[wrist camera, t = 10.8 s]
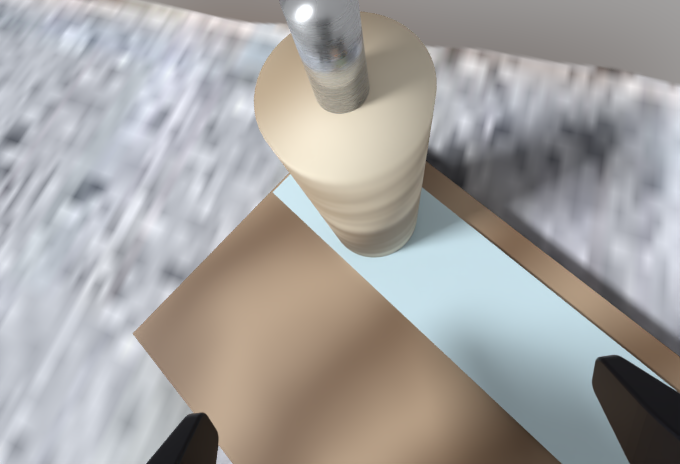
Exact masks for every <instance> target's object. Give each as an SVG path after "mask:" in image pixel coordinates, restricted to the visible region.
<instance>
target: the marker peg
mask: <svg viewBox="0 0 680 464" xmlns="http://www.w3.org/2000/svg"><path fill="white" fill-rule="evenodd" d="M279 1H280V5H281V8H282V10H283V13H284V16H285V18H286V21H287V24H288V26H289V29H290V31H291V33H290V34H289V35H288V36H287V37H286V38H285V39H283V40H282V41H281V42H280V43H279V44H278V45H277V47H276V48H275V49H274V50H273V51H272V53H271V54H270V55H269V57H268V58H267V60H266V62H265V63H264V65H263V67H262V69H261V72H260V74H259V77H258V80H257V83H256V87H255V95H254V110H255V116H256V120H257V123H258V126H259V129H260V131H261V133H262V135H263V137H264V139H265V140H266V142H267V143H268V144H269V146H270V147H271V149H272V150H273V151H274V153H275V154H276V155H277V157H278V158H279V159H280V161H281V162H282V163H283V165H284V166H285V167H286V169H287V170H288V171H289V173H290V174H291V175H292V177H293V178H294V180H295V181H296V182H297V184H298V185H299V186H300V188H301V189H302V190H303V192H304V193H305V194H306V196H307V197H308V198H309V200H310V201H311V202H312V204H313V205H314V206H315V208H316V209H317V210H318V212H319V213H320V215H321V216H322V217H323V219H324V220H325V221H326V223H327V224H328V225H329V227H330V228H331V229H332V231H333V232H334V233H335V235H336V236H337V237H338V239H339V240H340V241H341V243H342V244H343V245H344V246H345V247H346V248H347V249H349V250H350V251H352V252H354V253H356V254H358V255H361V256H364V257H375V258H376V257H383V256H387V255H390V254H392V253H394V252H396V251H398V250H399V249H400V248H402V247H403V246H404V245H405V244H406V243H407V242H408V241H409V239H410V238H411V236H412V234H413V232H414V230H415V227H416V222H417V216H418V209H419V202H420V196H421V189H422V183H423V176H424V170H425V163H426V156H427V150H428V143H429V137H430V130H431V124H432V117H433V110H434V104H435V97H436V90H437V86H436V73H435V67H434V64H433V61H432V58H431V56H430V54H429V52H428V50H427V48H426V47H425V46H424V44H423V43H422V42H421V40H420V39H419V38H418V37H417V36H416V35H415V34H414V33H413V32H412V31H411V30H409V29H408V28H407V27H405V26H404V25H402V24H401V23H399V22H397V21H395V20H393V19H390V18H388V17H385V16H382V15H378V14H375V13H368V12H360V10H359V3H358V0H279Z"/></svg>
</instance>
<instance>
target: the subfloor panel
mask: <svg viewBox="0 0 680 464" xmlns="http://www.w3.org/2000/svg"><path fill="white" fill-rule="evenodd" d="M133 335H134V336H135V337H136V339H137V340H138V341H139V343H140V344H141V345H142V346H143V348H144V349H145V350H146V352H147V353H148V354H149V355H150V357H151V358H152V359H153V361H154V362H155V363H156V365H157V366H158V367H159V368H160V370H161V371H162V372H163V374H164V375H165V376H166V377H167V379H168V380H169V381H170V383H171V384H172V385H173V387H174V388H175V389H176V390H177V392H178V393H179V394H180V396H181V397H182V398H183V400H184V401H185V402H186V403H187V405H188V406H189V407H190V409H191V410H192V411H193V412H194V413H200V412H204V413H206V414H207V415H208V417H209V419H210V420H211V422H212V423H213V425H214V426H215V428H216V429H217V432H218V436H219V443H218V445H219V446H220V447H221V449H222V450H223V451H224V453H225V454H226V455H227V457H228V458H229V459H230V460H231V462H232V463H233V464H630V463H629V461H628V460H627V458H626V456H625V454H624V452H623V450H622V448H621V446H620V444H619V442H618V440H617V438H616V435H615V433H614V431H613V429H612V427H611V425H610V423H609V421H608V419H607V417H606V415H605V413H604V411H603V409H602V407H601V405H600V403H599V401H598V399H597V397H596V395H595V393H594V390H593V387H592V376H593V371H594V365H595V360H596V359H597V358H598V357H601V356H608V355H619V356H621V357H623V358H625V359H626V360H628V361H630V362H631V363H633V364H634V365H636V366H637V367H639V368H641V369H642V370H644V371H645V372H647V373H649V374H650V375H652V376H653V377H655V378H657V379H658V380H660V381H661V382H663V383H665V384H666V385H668V386H669V387H671V388H672V389H674V390H676V391H677V392H679V393H680V357H679V356H678V355H677V354H675V353H674V352H673V351H672V350H670V349H669V348H668V347H666V346H665V345H664V344H662V343H661V342H660V341H659V340H657V339H656V338H655V337H653V336H652V335H651V334H649V333H648V332H647V331H646V330H644V329H643V328H642V327H640V326H639V325H638V324H637V323H635V322H634V321H633V320H631V319H630V318H629V317H627V316H626V315H625V314H624V313H622V312H621V311H620V310H618V309H617V308H616V307H614V306H613V305H612V304H611V303H609V302H608V301H607V300H605V299H604V298H603V297H602V296H600V295H599V294H598V293H596V292H595V291H594V290H592V289H591V288H590V287H589V286H587V285H586V284H585V283H583V282H582V281H581V280H580V279H578V278H577V277H576V276H574V275H573V274H572V273H570V272H569V271H568V270H567V269H565V268H564V267H563V266H561V265H560V264H559V263H557V262H556V261H555V260H554V259H552V258H551V257H550V256H548V255H547V254H546V253H545V252H543V251H542V250H541V249H539V248H538V247H537V246H535V245H534V244H533V243H532V242H530V241H529V240H528V239H526V238H525V237H524V236H522V235H521V234H520V233H519V232H517V231H516V230H515V229H513V228H512V227H511V226H510V225H508V224H507V223H506V222H504V221H503V220H502V219H500V218H499V217H498V216H497V215H495V214H494V213H493V212H491V211H490V210H489V209H487V208H486V207H485V206H484V205H482V204H481V203H480V202H478V201H477V200H476V199H475V198H473V197H472V196H471V195H469V194H468V193H467V192H465V191H464V190H463V189H462V188H460V187H459V186H458V185H456V184H455V183H454V182H452V181H451V180H450V179H449V178H447V177H446V176H445V175H443V174H442V173H441V172H440V171H438V170H437V169H436V168H434V167H433V166H432V165H430V164H429V163H428V162H427V161H426V163H425V170H424V176H423V183H422V189H421V196H420V202H419V209H418V216H417V222H416V227H415V230H414V232H413V234H412V236H411V238H410V239H409V241H408V242H407V243H406V244H405V245H404V246H403V247H402V248H400V249H399V250H398V251H396V252H394V253H392V254H390V255H387V256H383V257H376V258H375V257H364V256H361V255H358V254H356V253H354V252H352V251H350V250H349V249H347V248H346V247H345V246H344V245H343V244H342V243H341V241H340V240H339V239H338V237H337V236H336V235H335V233H334V232H333V231H332V229H331V228H330V227H329V225H328V224H327V223H326V221H325V220H324V219H323V217H322V216H321V215H320V213H319V212H318V210H317V209H316V208H315V206H314V205H313V204H312V202H311V201H310V200H309V198H308V197H307V196H306V194H305V193H304V192H303V190H302V189H301V188H300V186H299V185H298V184H297V182H296V181H295V180H294V178H293V177H292V175H291V174H290V173H289V174H288V175H287V176H286V177H285V178H284V179H283V180H282V181H281V182H280V183H279V184H278V185H277V186H276V187H275V188H274V189H273V190H272V191H271V192H270V193H269V194H268V195H267V196H266V197H265V198H264V199H263V200H262V201H261V202H260V203H259V204H258V205H257V206H256V207H255V208H254V210H253V211H252V212H251V213H250V214H249V215H248V216H247V217H246V218H245V219H244V220H243V221H242V222H241V223H240V224H239V225H238V226H237V227H236V228H235V229H234V230H233V231H232V232H231V233H230V234H229V235H228V236H227V237H226V238H225V239H224V240H223V241H222V242H221V243H220V244H219V245H218V247H217V248H216V249H215V250H214V251H213V252H212V253H211V254H210V255H209V256H208V257H207V258H206V259H205V260H204V261H203V262H202V263H201V264H200V265H199V266H198V267H197V268H196V269H195V270H194V271H193V272H192V273H191V274H190V275H189V276H188V277H187V278H186V279H185V280H184V281H183V282H182V283H181V285H180V286H179V287H178V288H177V289H176V290H175V291H174V292H173V293H172V294H171V295H170V296H169V297H168V298H167V299H166V300H165V301H164V302H163V303H162V304H161V305H160V306H159V307H158V308H157V309H156V310H155V311H154V312H153V313H152V314H151V315H150V316H149V317H148V318H147V319H146V320H145V322H144V323H143V324H142V325H141V326H140V327H139V328H138V329H137V330H136V331H135V332H134V333H133Z"/></svg>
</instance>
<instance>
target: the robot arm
mask: <svg viewBox="0 0 680 464" xmlns="http://www.w3.org/2000/svg"><path fill="white" fill-rule="evenodd" d="M592 387H593V390H594V393H595V395H596V397H597V399H598V401H599V403H600V405H601V407H602V409H603V411H604V413H605V415H606V417H607V419H608V421H609V423H610V425H611V427H612V429H613V431H614V433H615V435H616V438H617V440H618V442H619V444H620V446H621V448H622V450H623V452H624V454H625V456H626V458H627V460H628V461H629V463H630V464H680V393H679V392H677V391H676V390H674V389H672V388H671V387H669V386H668V385H666V384H665V383H663V382H661V381H660V380H658V379H657V378H655V377H653V376H652V375H650V374H649V373H647V372H645V371H644V370H642V369H641V368H639V367H637V366H636V365H634V364H633V363H631V362H630V361H628V360H626V359H625V358H623V357H621V356H619V355H608V356H601V357H598V358H597V359H596V360H595V365H594V371H593V376H592ZM218 443H219V436H218V432H217V429H216V428H215V426H214V425H213V423H212V422H211V420H210V419H209V417H208V415H207V414H206V413H204V412H200V413H193V414H189V415H187V416H186V417H185V418H184V419H183V420H182V421H181V423H180V424H179V425H178V426H177V427H176V429H175V430H174V431H173V432H172V433H171V435H170V436H169V437H168V438H167V439H166V441H165V442H164V443H163V444H162V445H161V447H160V448H159V449H158V450H157V451H156V453H155V454H154V455H153V456H152V457H151V459H150V460H149V461H148V462H147V463H146V464H216V459H217V451H218Z"/></svg>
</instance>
